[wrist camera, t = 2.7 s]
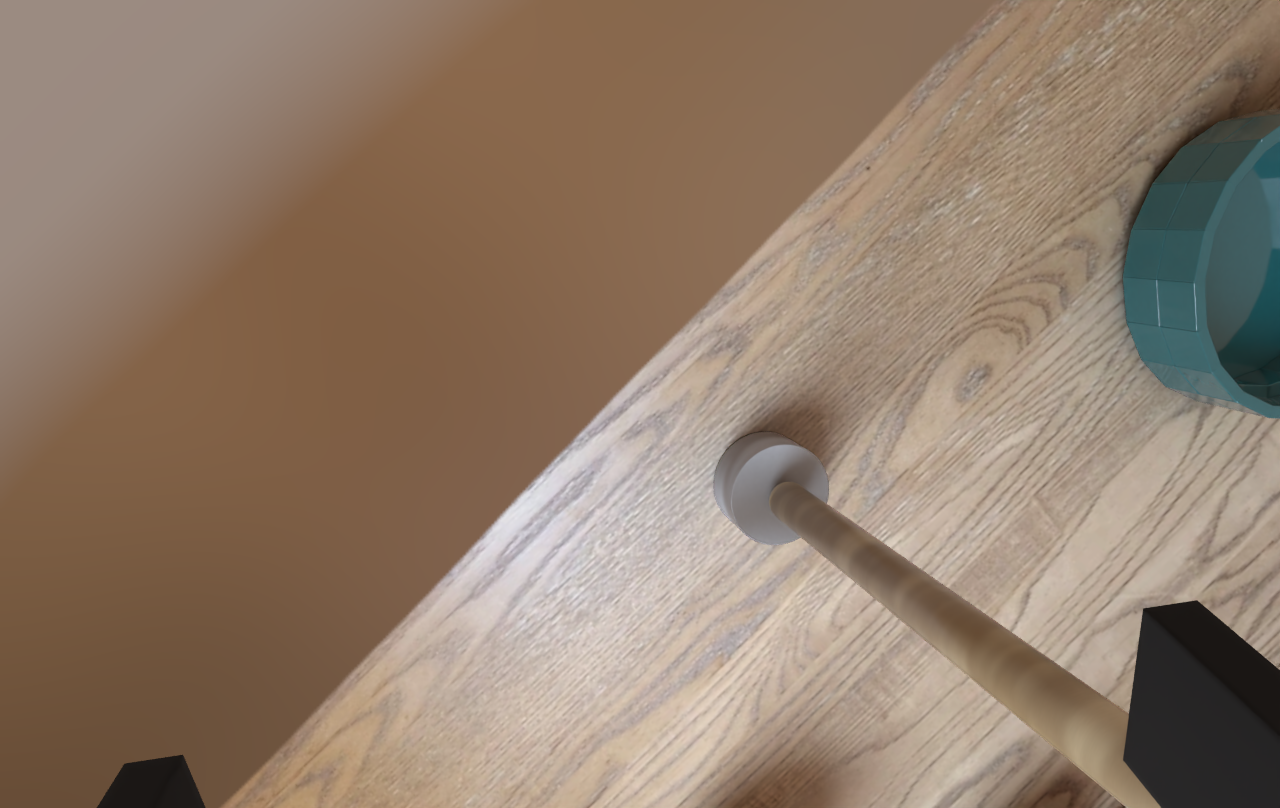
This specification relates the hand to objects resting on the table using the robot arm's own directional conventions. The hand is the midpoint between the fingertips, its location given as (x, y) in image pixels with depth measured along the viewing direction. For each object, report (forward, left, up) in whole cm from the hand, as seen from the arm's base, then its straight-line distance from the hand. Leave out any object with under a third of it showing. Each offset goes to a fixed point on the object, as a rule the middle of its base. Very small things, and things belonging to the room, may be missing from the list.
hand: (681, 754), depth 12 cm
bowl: (-8, +49, -35) cm, 60 cm away
